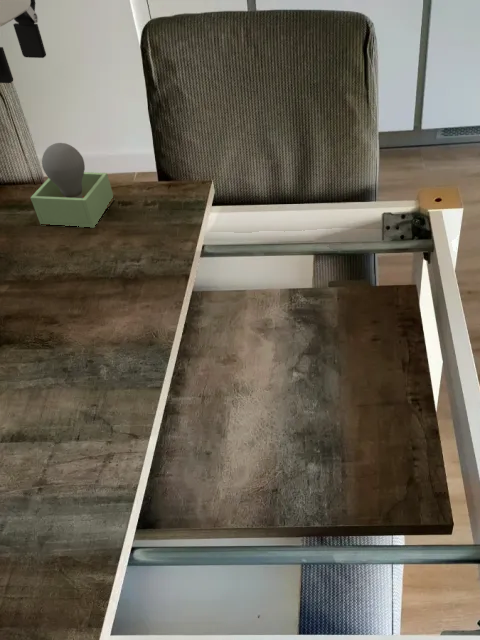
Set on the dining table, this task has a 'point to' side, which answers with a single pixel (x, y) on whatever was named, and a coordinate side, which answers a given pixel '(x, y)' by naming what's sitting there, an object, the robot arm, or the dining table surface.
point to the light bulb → (64, 168)
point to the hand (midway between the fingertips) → (18, 69)
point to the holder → (73, 202)
